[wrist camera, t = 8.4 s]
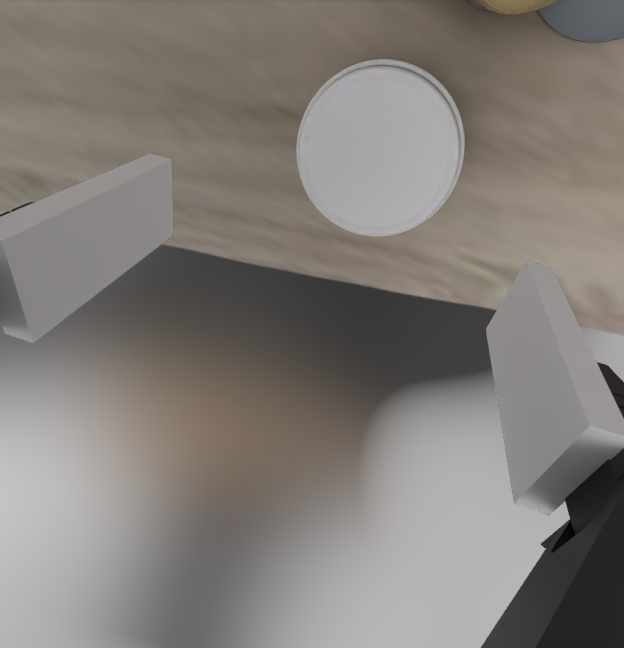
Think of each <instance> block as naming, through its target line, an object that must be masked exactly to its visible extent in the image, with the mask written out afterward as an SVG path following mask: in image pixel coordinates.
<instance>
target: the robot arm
mask: <svg viewBox="0 0 624 648" xmlns="http://www.w3.org/2000/svg"><path fill="white" fill-rule="evenodd" d="M171 236H173V205H172V159H168V158H165V157H161V156H158V155H154V154H151V153H150V154H147V155H145V156H143V157H140V158H138V159H136V160H133V161H131V162H129V163H126V164H124V165H121V166H119V167H117V168H114V169H112V170H110V171H107V172H105V173H103V174H100V175H98V176H96V177H93V178H91V179H88V180H86V181H84V182H81V183H79V184H77V185H74V186H72V187H70V188H67V189H65V190H62V191H60V192H58V193H55V194H53V195H51V196H48V197H46V198H44V199H41V200H39V201H36V202H30V203H27V204H25V205H22V206H20V207H17V208H15V209H13V210H12V212H9V211H8V212H6V213H3V214H1V215H0V321H1V324H2V327H3V330H4V333H5V334H8V335H11V336H14V337H17V338H20V339H23V340H26V341H29V342H32V343H34V342H35V341H36V340H37V339H39V338H40V337H41V336H43V335H44V334H45V333H47V332H48V331H49V330H51V329H52V328H53V327H54V326H56V325H57V324H58V323H60V322H61V321H62V320H64V319H65V318H66V317H67V316H69V315H70V314H71V313H72V312H74V311H75V310H77V309H78V308H79V307H80V306H82V305H83V304H84V303H86V302H87V301H88V300H90V299H91V298H92V297H93V296H95V295H96V294H97V293H99V292H100V291H101V290H103V289H104V288H105V287H106V286H108V285H109V284H110V283H112V282H113V281H114V280H116V279H117V278H118V277H119V276H121V275H122V274H123V273H125V272H126V271H127V270H129V269H130V268H131V267H132V266H133V265H135V264H136V263H138V262H139V261H140V260H142V259H143V258H144V257H145V256H147V255H148V254H149V253H151V252H152V251H153V250H155V249H156V248H157V247H158V246H160V245H161V244H162V243H164V242H165V241H166V240H168V239H169V238H170V237H171ZM486 333H487V339H488V345H489V351H490V357H491V363H492V370H493V375H494V382H495V388H496V395H497V401H498V407H499V413H500V420H501V425H502V432H503V438H504V443H505V451H506V457H507V462H508V469H509V475H510V481H511V488H512V493H513V500H514V504H516V505H520V506H522V507H525V508H528V509H531V510H534V511H537V512H540V513H544V514H547V515H550V514H551V513H552V512H553V511H554V510H556V509H557V508H558V507H559V506H560V505H561V504H562V503H563V502H564V501H566V505H567V508H568V512H569V516H570V520H569V521H567V522H566V523H565V524H564V525H563V526H561V527H560V528H559V529H558V530H557V531H556V532H554V533H553V534H552V535H551V536H550V537H548V538H547V539H546V540H545V541H544V542H542V543H541V545H542V546H543V547H544V548H546V550H545V551H544V553H543V554H542V556H541V557H540V559H539V561H538V562H537V563H536V565H535V566H534V568H533V569H532V571H531V572H530V574H529V575H528V577H527V578H526V580H525V581H524V583H523V585H522V586H521V588H520V589H519V591H518V592H517V594H516V595H515V597H514V598H513V600H512V601H511V603H510V604H509V606H508V607H507V609H506V610H505V612H504V614H503V615H502V616H501V618H500V620H499V621H498V622H497V624H496V625H495V627H494V629H493V630H492V632H491V633H490V635H489V636H488V638H487V639H486V641H485V642H484V644H483V645H482V647H481V648H624V382H623V381H622V380H621V379H620V378H619V377H618V376H617V375H616V374H615V373H614V372H613V371H612V370H611V369H610V367H609V366H607V365H605V364H601V363H598V362H596V360H595V358H594V356H593V354H592V352H591V349H590V347H589V345H588V343H587V341H586V339H585V337H584V335H583V333H582V331H581V329H580V327H579V324H578V322H577V320H576V318H575V316H574V314H573V312H572V310H571V308H570V306H569V304H568V301H567V299H566V297H565V295H564V293H563V291H562V289H561V287H560V285H559V283H558V281H557V279H556V276H555V274H554V272H553V270H552V268H551V267H547V266H544V265H540V264H537V263H533V262H530V261H526V262H525V263H524V265H523V267H522V269H521V270H520V272H519V274H518V275H517V277H516V279H515V281H514V282H513V284H512V286H511V287H510V289H509V291H508V293H507V294H506V296H505V298H504V299H503V301H502V303H501V305H500V306H499V308H498V310H497V311H496V313H495V315H494V317H493V318H492V320H491V322H490V323H489V325H488V327H487V329H486Z"/></svg>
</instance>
